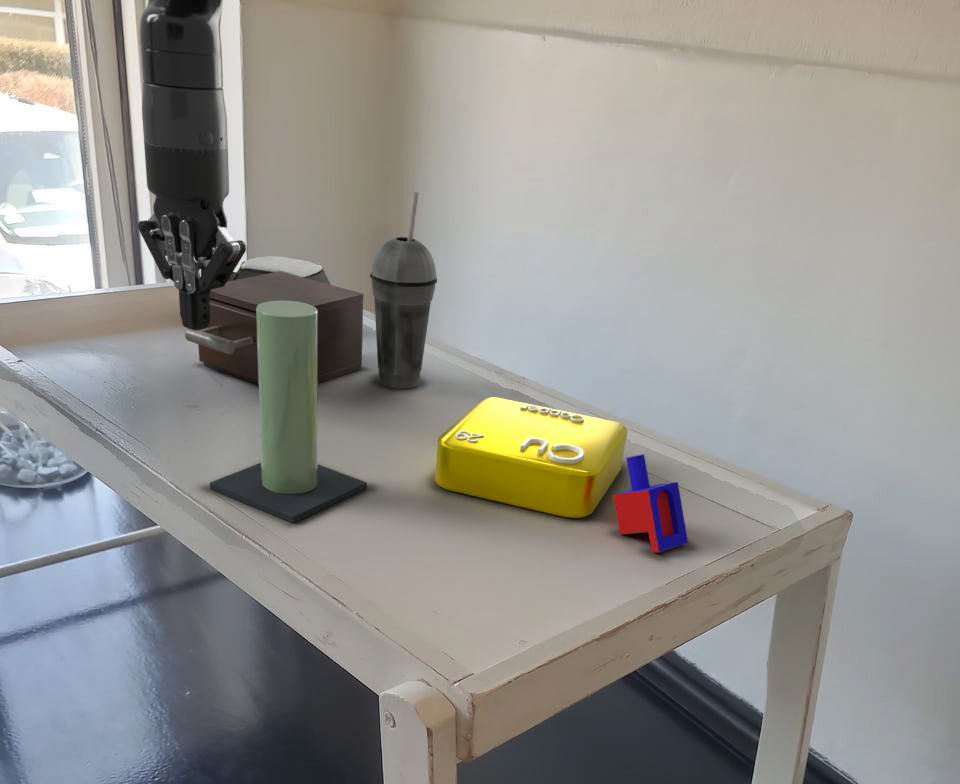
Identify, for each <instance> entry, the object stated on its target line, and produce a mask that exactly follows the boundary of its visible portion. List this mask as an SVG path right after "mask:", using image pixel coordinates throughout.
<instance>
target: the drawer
mask: <svg viewBox="0 0 960 784" xmlns="http://www.w3.org/2000/svg"><path fill="white" fill-rule="evenodd" d="M184 337H185V340H186V341H188V342H190V343H194V344H196V345H197V347H198V361H199V362H201V363H203V364H204V363H207V364H210V365H213V366H216V367H219V368H222V369H225V370H228V371H231V372H233V373H236V374H239V375H242V376H245V377H248V378H251V379H254V380H257V381H258V355H257V324H256V311H252V310H249V309H246V308H242V307H239V306H236V305H232V304H229V303H226V302H222V301H219V300H217V301H214V300H211V299H210V322H209V325H208V327H207V328H205V329H201V330H196V331H195V330H192V329H189V328H187V329H186V330H185V332H184Z"/></svg>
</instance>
